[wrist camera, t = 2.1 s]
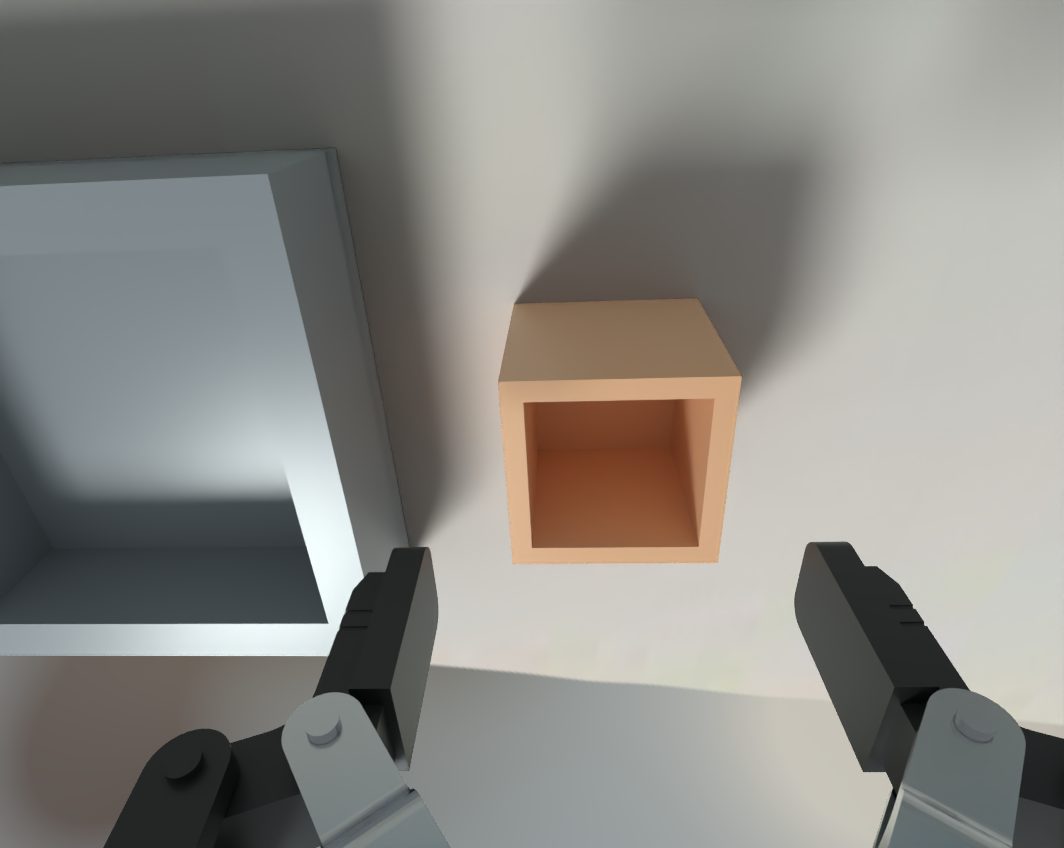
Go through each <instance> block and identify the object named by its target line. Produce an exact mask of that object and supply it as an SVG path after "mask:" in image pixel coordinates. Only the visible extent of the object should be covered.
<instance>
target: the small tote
mask: <svg viewBox="0 0 1064 848" xmlns="http://www.w3.org/2000/svg"><path fill="white" fill-rule="evenodd" d="M741 379H742V376H741V374H740V372H739V370H738V368H737V367H736V365H735V363H734V361H733V360H732V358H731V356H730V354H729V352H728V351H727V349H726V347H725V345H724V344H723V342H722V340H721V338H720V337H719V335H718V333H717V331H716V329H715V328H714V326H713V324H712V322H711V321H710V319H709V317H708V315H707V314H706V312H705V310H704V308H703V306H702V305H701V303H700V301H699V299H698V298H685V299H652V300H619V301H586V302H553V303H520V304H514V307H513V312H512V316H511V321H510V326H509V331H508V336H507V341H506V346H505V351H504V356H503V360H502V365H501V370H500V375H499V380H498V386H499V399H500V411H501V424H502V436H503V449H504V461H505V474H506V486H507V499H508V511H509V524H510V536H511V549H512V561H513V564H584V563H718V558H719V550H720V543H721V535H722V527H723V519H724V511H725V504H726V496H727V488H728V480H729V473H730V465H731V457H732V449H733V442H734V434H735V426H736V418H737V410H738V403H739V395H740V387H741Z"/></svg>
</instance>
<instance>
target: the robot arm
mask: <svg viewBox="0 0 1064 848" xmlns="http://www.w3.org/2000/svg"><path fill="white" fill-rule="evenodd" d="M794 605H795V614H796V619H797V622H798V625H799V628H800V630H801V632H802V635H803V637H804V639H805V641H806V644H807V646H808V648H809V650H810V653H811V655H812V657H813V659H814V662H815V664H816V666H817V669H818V671H819V673H820V675H821V678H822V680H823V682H824V684H825V687H826V689H827V691H828V693H829V696H830V698H831V700H832V703H833V705H834V707H835V709H836V712H837V714H838V716H839V718H840V721H841V723H842V725H843V727H844V730H845V732H846V734H847V737H848V739H849V741H850V743H851V746H852V748H853V750H854V752H855V755H856V757H857V759H858V761H859V764H860V766H861V768H862V770H863V772H886V773H887V775H888V777H889V779H890V781H891V784H892V789H891V791H890V794H889V797H888V800H887V803H886V806H885V809H884V812H883V816H882V819H881V822H880V825H879V829H878V832H877V835H876V838H875V841H874V845H873V848H1064V739H1062V738H1058V737H1054V736H1051V735H1046V734H1043V733H1039V732H1035V731H1031V730H1029V729H1025V728H1022V727H1020V726H1019V725H1018V723H1017V722H1016V721H1015V720H1014V718H1013V717H1012V716H1011V715H1010V714H1009V713H1008V712H1007V711H1006V710H1005V709H1003V708H1002V707H1001V706H999V705H998V704H997V703H995V702H993V701H992V700H990V699H988V698H986V697H984V696H982V695H980V694H978V693H975V692H972V691H970V690H969V688H968V687H967V686H966V684H965V683H964V681H963V680H962V678H961V677H960V675H959V674H958V672H957V671H956V669H955V668H954V666H953V665H952V663H951V662H950V660H949V659H948V657H947V656H946V654H945V653H944V651H943V650H942V648H941V647H940V645H939V644H938V642H937V641H936V639H935V638H934V636H933V635H932V633H931V632H930V630H929V629H928V627H927V626H924V621H923V620H922V618H921V617H920V615H919V614H918V612H917V611H916V609H913V605H912V603H911V602H910V600H909V599H908V597H907V596H906V594H905V593H904V591H903V590H902V588H901V587H900V585H899V584H898V583H897V582H896V581H894V580H893V579H892V578H891V577H889V576H888V575H887V574H886V573H884V572H883V571H882V570H881V569H879V568H878V567H877V566H864V564H863V563H862V561H861V560H860V558H859V556H858V555H857V553H856V552H855V550H854V548H853V547H852V545H851V544H850V543H848V542H810V543H808V545H807V546H806V549H805V553H804V557H803V561H802V566H801V570H800V575H799V579H798V583H797V588H796V592H795V599H794ZM437 623H438V597H437V591H436V584H435V578H434V571H433V565H432V558H431V552H430V549H429V548H428V547H398V548H394V549H393V550H392V552H391V555H390V558H389V562H388V565H387V568H386V571H385V572H368V574H367V575H366V576H365V577H364V578H363V579H362V580H361V581H360V582H359V584H358V585H357V586H356V587H355V588H354V589H353V590H352V593H351V596H350V599H349V601H348V604H347V607H346V609H345V614H344V615H343V618H342V620H341V623H340V626H339V631H337V634H336V637H335V639H334V642H333V645H332V648H331V650H330V653H329V656H328V658H327V661H326V664H325V667H324V669H323V672H322V675H321V678H320V680H319V683H318V686H317V689H316V691H315V693H314V695H313V698H312V699H310V700H308V701H306V702H305V703H303V704H302V705H301V706H300V707H298V708H297V709H296V710H295V711H294V712H293V713H292V715H291V716H290V717H289V719H288V720H287V722H286V724H285V725H283V726H281V727H279V728H277V729H275V730H272V731H269V732H266V733H263V734H260V735H256V736H253V737H250V738H246V739H243V740H240V741H236V742H233V743H229V741H228V739H227V738H226V736H225V735H223V734H222V733H221V732H219V731H216V730H212V729H197V730H193V731H189V732H186V733H184V734H181V735H179V736H177V737H176V738H174V739H172V740H171V741H169V742H168V743H166V744H165V745H164V746H162V747H161V748H160V749H159V750H158V751H157V752H156V753H155V754H154V755H153V756H152V757H151V759H150V760H149V761H148V762H147V764H146V766H145V767H144V769H143V771H142V773H141V775H140V777H139V779H138V781H137V783H136V785H135V787H134V788H133V790H132V793H131V794H130V796H129V798H128V800H127V802H126V804H125V806H124V808H123V810H122V812H121V814H120V816H119V818H118V820H117V822H116V824H115V826H114V828H113V830H112V832H111V834H110V836H109V838H108V840H107V842H106V844H105V846H104V848H316V847H319V846H320V847H321V848H450V846H449V844H448V842H447V841H446V839H445V837H444V835H443V834H442V832H441V830H440V829H439V827H438V825H437V823H436V822H435V820H434V818H433V816H432V815H431V813H430V811H429V809H428V808H427V806H426V804H425V803H424V801H423V799H422V798H421V796H420V795H419V794H418V792H417V791H416V790H415V789H411V790H410V789H409V787H408V786H407V784H406V783H405V781H404V780H403V778H402V776H401V774H400V772H399V771H409V768H410V763H411V758H412V753H413V748H414V743H415V737H416V732H417V727H418V722H419V717H420V712H421V707H422V701H423V696H424V691H425V686H426V681H427V676H428V671H429V666H430V661H431V656H432V650H433V645H434V640H435V635H436V630H437Z"/></svg>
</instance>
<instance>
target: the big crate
mask: <svg viewBox="0 0 1064 848" xmlns="http://www.w3.org/2000/svg"><path fill="white" fill-rule="evenodd" d="M398 547H409V543H408V537H407V532H406V526H405V521H404V516H403V510H402V505H401V499H400V494H399V489H398V483H397V478H396V472H395V467H394V462H393V456H392V451H391V445H390V440H389V435H388V429H387V424H386V418H385V413H384V408H383V402H382V397H381V391H380V386H379V381H378V375H377V370H376V364H375V359H374V354H373V348H372V343H371V337H370V332H369V327H368V321H367V316H366V310H365V305H364V300H363V294H362V289H361V283H360V278H359V273H358V267H357V262H356V257H355V251H354V246H353V240H352V235H351V230H350V224H349V219H348V213H347V208H346V203H345V197H344V192H343V186H342V181H341V176H340V170H339V165H338V159H337V154H336V149H335V148H318V149H297V150H276V151H255V152H234V153H213V154H192V155H171V156H150V157H129V158H108V159H87V160H66V161H45V162H24V163H3V164H0V655H47V656H48V655H49V656H51V655H52V656H53V655H54V656H57V655H59V656H61V655H62V656H68V655H69V656H75V655H76V656H77V655H78V656H79V655H81V656H90V655H91V656H95V655H96V656H105V655H107V656H119V655H120V656H329V653H330V650H331V648H332V645H333V642H334V639H335V637H336V634H337V631H339V626H340V623H341V620H342V618H343V615H344V614H345V609H346V607H347V604H348V601H349V599H350V596H351V593H352V590H353V589H354V588H355V587H356V586H357V585H358V584H359V582H360V581H361V580H362V579H363V578H364V577H365V576H366V575H367V574H368V572H385V571H386V568H387V565H388V562H389V558H390V555H391V552H392V550H393V549H394V548H398Z"/></svg>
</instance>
